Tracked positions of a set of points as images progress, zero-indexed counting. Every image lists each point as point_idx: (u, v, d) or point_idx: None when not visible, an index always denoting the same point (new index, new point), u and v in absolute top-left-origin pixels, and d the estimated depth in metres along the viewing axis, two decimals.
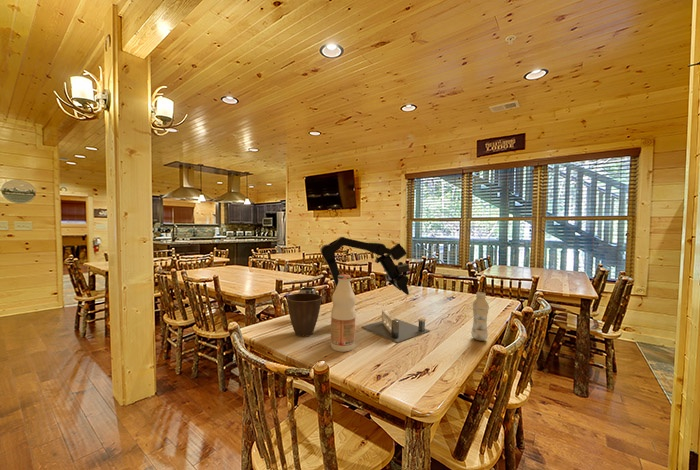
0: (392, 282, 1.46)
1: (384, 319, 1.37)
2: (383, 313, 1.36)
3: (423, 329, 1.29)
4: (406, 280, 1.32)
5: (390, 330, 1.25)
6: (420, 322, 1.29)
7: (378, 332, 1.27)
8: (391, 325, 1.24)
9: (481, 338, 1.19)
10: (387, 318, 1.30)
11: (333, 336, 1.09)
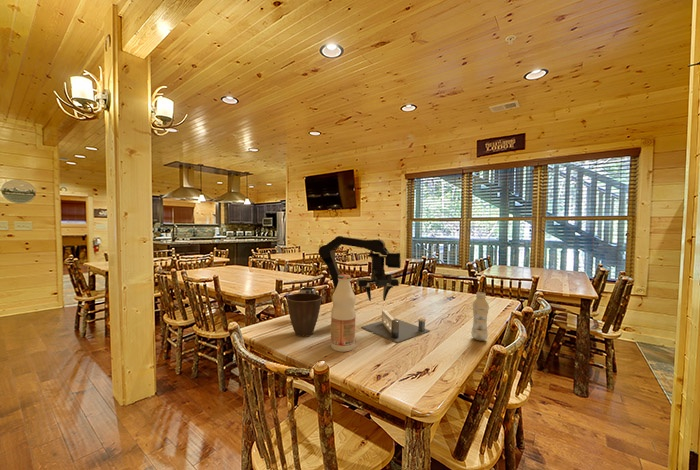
0: (384, 287, 1.34)
1: (384, 319, 1.37)
2: (383, 313, 1.36)
3: (423, 329, 1.29)
4: (358, 284, 1.29)
5: (390, 330, 1.25)
6: (420, 322, 1.29)
7: (378, 332, 1.27)
8: (391, 325, 1.24)
9: (481, 338, 1.19)
10: (387, 318, 1.30)
11: (333, 336, 1.09)
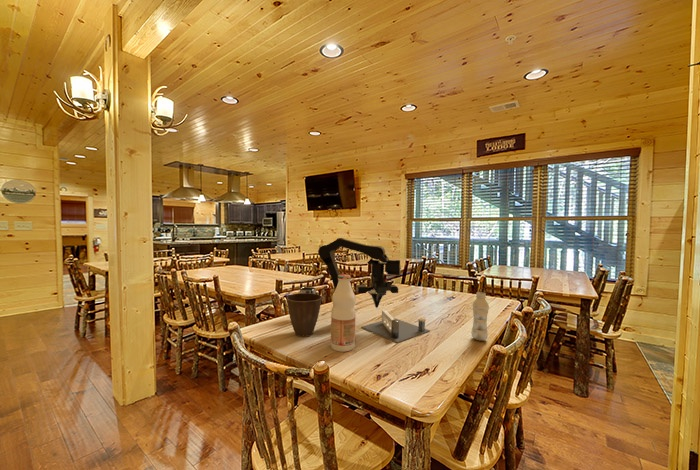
0: (377, 294, 1.34)
1: (384, 319, 1.37)
2: (383, 313, 1.36)
3: (423, 329, 1.29)
4: (357, 291, 1.29)
5: (390, 330, 1.25)
6: (420, 322, 1.29)
7: (378, 332, 1.27)
8: (391, 325, 1.24)
9: (481, 338, 1.19)
10: (387, 318, 1.30)
11: (333, 336, 1.09)
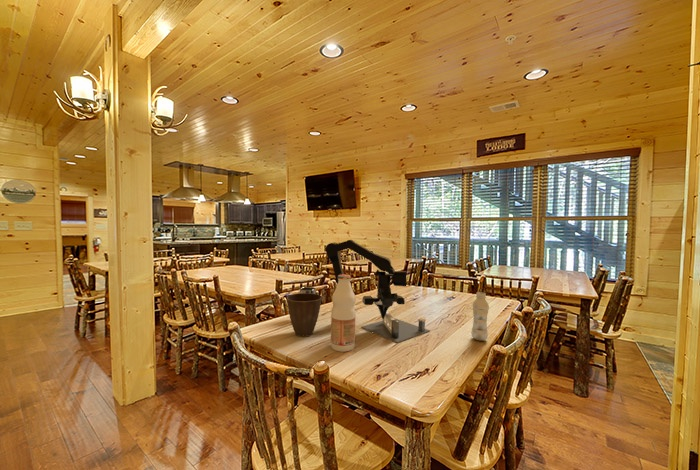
0: None
1: (385, 319, 1.37)
2: None
3: (423, 329, 1.29)
4: (364, 302, 1.30)
5: (390, 330, 1.25)
6: (420, 322, 1.29)
7: (378, 332, 1.27)
8: (391, 325, 1.24)
9: (481, 338, 1.19)
10: (387, 318, 1.30)
11: (333, 336, 1.09)
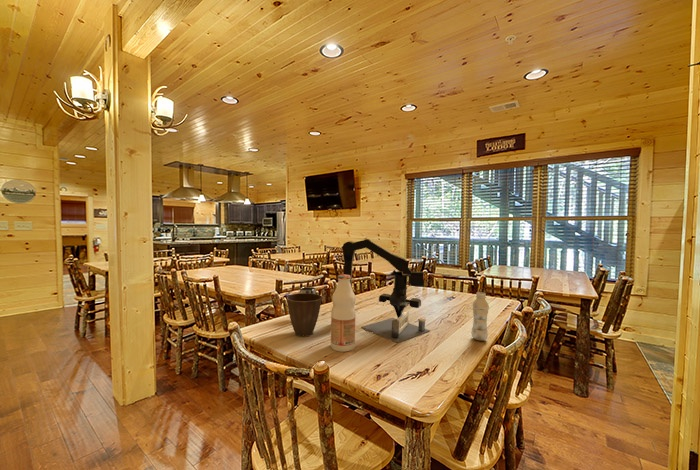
0: None
1: (405, 321, 1.36)
2: None
3: (423, 329, 1.29)
4: None
5: None
6: (420, 322, 1.29)
7: (378, 332, 1.27)
8: None
9: (481, 338, 1.19)
10: None
11: (333, 336, 1.09)
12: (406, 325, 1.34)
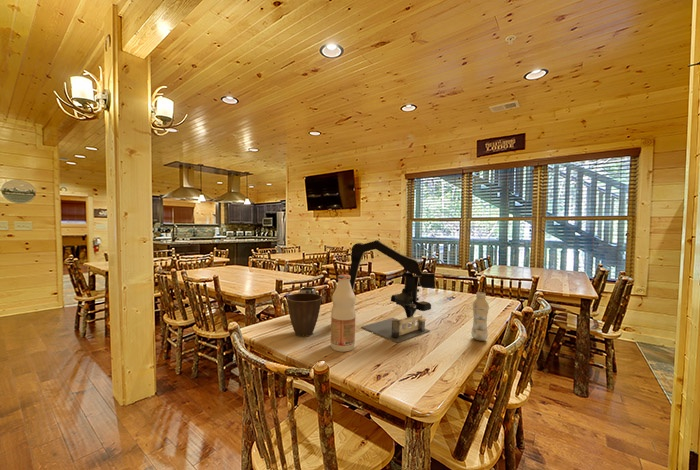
0: None
1: (418, 324, 1.32)
2: None
3: (423, 329, 1.29)
4: None
5: None
6: (420, 322, 1.29)
7: (378, 332, 1.27)
8: None
9: (481, 338, 1.19)
10: None
11: (333, 336, 1.09)
12: (417, 328, 1.30)
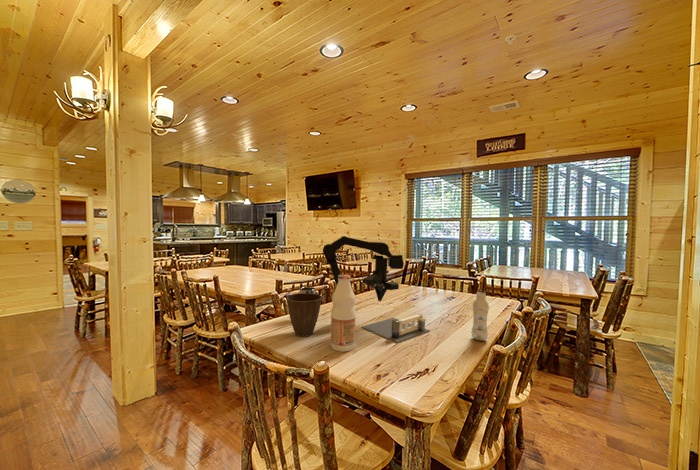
0: None
1: (418, 324, 1.32)
2: None
3: (423, 329, 1.29)
4: None
5: None
6: (420, 322, 1.29)
7: (378, 332, 1.27)
8: None
9: (481, 338, 1.19)
10: None
11: (333, 336, 1.09)
12: (417, 328, 1.30)
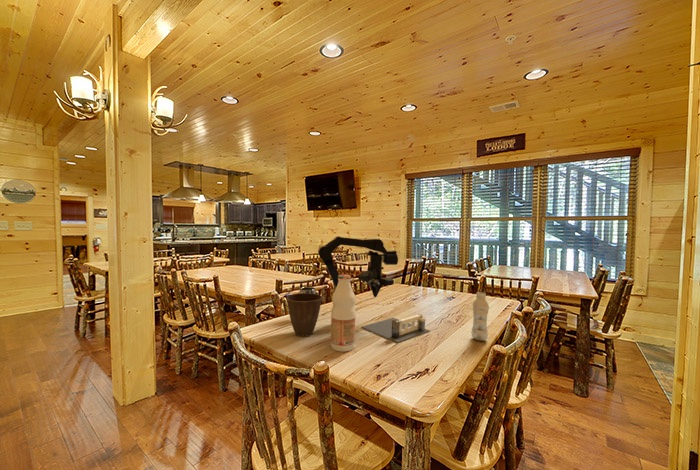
0: None
1: (418, 324, 1.32)
2: None
3: (423, 329, 1.29)
4: None
5: None
6: (420, 322, 1.29)
7: (378, 332, 1.27)
8: None
9: (481, 338, 1.19)
10: None
11: (333, 336, 1.09)
12: (417, 328, 1.30)
